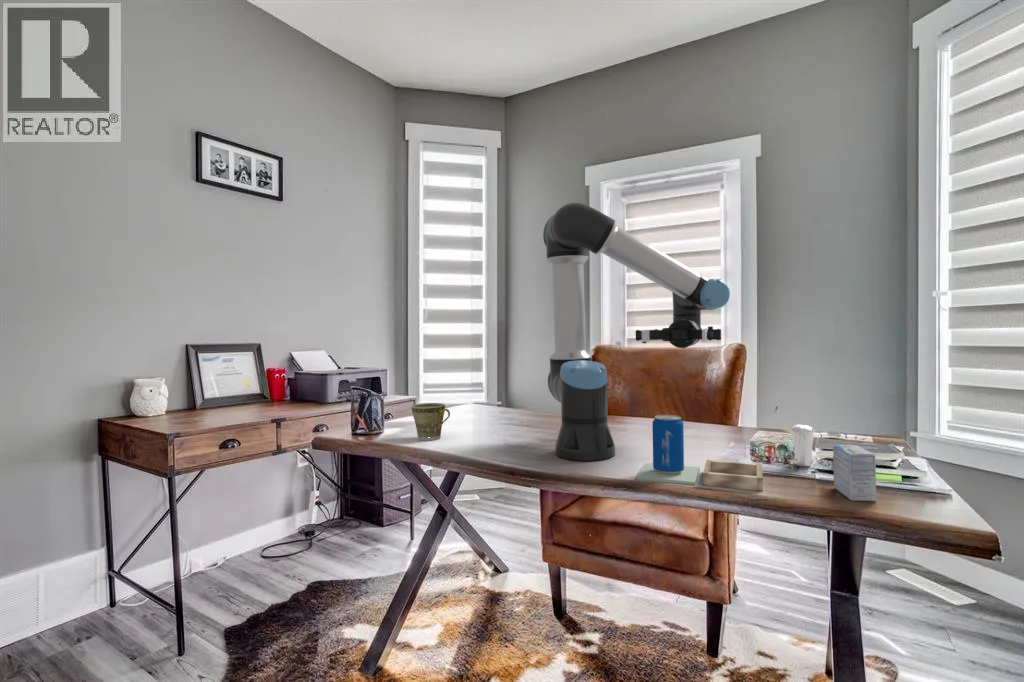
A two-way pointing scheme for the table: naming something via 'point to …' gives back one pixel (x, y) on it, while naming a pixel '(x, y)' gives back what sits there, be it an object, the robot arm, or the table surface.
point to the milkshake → (803, 443)
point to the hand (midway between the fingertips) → (672, 335)
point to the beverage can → (668, 444)
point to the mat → (683, 477)
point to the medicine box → (854, 472)
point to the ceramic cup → (429, 420)
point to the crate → (733, 475)
